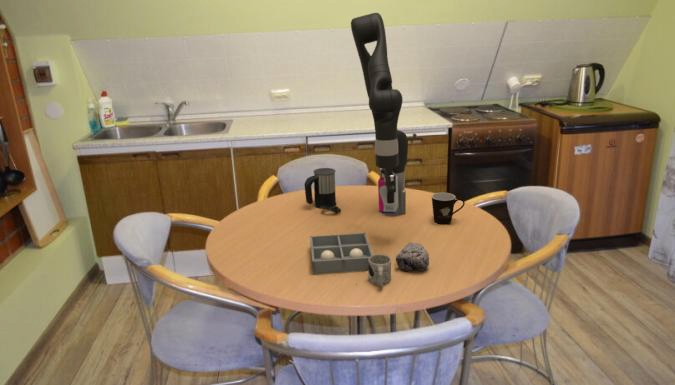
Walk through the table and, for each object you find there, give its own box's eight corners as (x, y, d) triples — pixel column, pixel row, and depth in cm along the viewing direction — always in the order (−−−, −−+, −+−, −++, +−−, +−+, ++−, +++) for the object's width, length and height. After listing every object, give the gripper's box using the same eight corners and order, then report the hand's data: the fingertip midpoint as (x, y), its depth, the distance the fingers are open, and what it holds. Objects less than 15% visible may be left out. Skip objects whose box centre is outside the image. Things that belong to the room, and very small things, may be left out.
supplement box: (398, 207, 177) (398, 175, 173) (395, 213, 171) (395, 181, 167) (382, 206, 178) (381, 174, 174) (378, 212, 173) (377, 180, 169)
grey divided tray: (365, 244, 177) (365, 232, 175) (374, 270, 159) (373, 257, 158) (310, 247, 175) (310, 236, 174) (313, 274, 158) (312, 261, 156)
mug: (368, 274, 157) (368, 254, 155) (390, 273, 157) (390, 254, 154) (369, 291, 148) (368, 270, 145) (392, 290, 147) (392, 270, 145)
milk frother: (323, 199, 220) (322, 166, 215) (354, 206, 211) (353, 171, 206) (302, 209, 209) (300, 175, 204) (333, 217, 201) (332, 181, 196)
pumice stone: (406, 283, 156) (436, 269, 157) (400, 262, 152) (430, 249, 154) (393, 267, 165) (421, 254, 167) (387, 247, 162) (415, 234, 163)
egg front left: (362, 258, 165) (362, 245, 164) (364, 264, 161) (364, 251, 160) (348, 258, 165) (348, 246, 164) (350, 265, 161) (349, 252, 159)
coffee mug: (428, 224, 191) (429, 199, 188) (433, 216, 199) (434, 191, 195) (460, 228, 187) (461, 202, 184) (464, 219, 195) (465, 194, 191)
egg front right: (334, 259, 165) (333, 247, 163) (335, 266, 161) (334, 253, 159) (320, 260, 164) (319, 248, 163) (321, 267, 160) (320, 254, 159)
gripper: (403, 156, 162) (404, 205, 167) (392, 145, 175) (393, 190, 181) (380, 158, 161) (381, 207, 166) (371, 147, 174) (372, 192, 180)
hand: (387, 198), depth 173 cm, fingers closed on supplement box, 7 cm apart
